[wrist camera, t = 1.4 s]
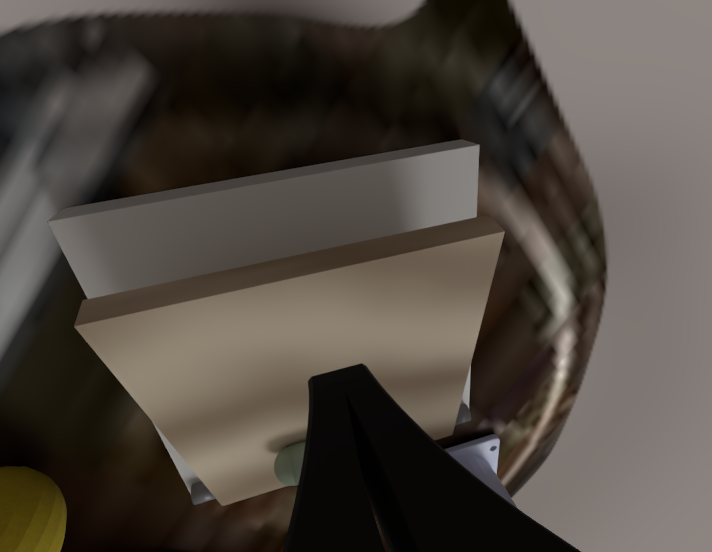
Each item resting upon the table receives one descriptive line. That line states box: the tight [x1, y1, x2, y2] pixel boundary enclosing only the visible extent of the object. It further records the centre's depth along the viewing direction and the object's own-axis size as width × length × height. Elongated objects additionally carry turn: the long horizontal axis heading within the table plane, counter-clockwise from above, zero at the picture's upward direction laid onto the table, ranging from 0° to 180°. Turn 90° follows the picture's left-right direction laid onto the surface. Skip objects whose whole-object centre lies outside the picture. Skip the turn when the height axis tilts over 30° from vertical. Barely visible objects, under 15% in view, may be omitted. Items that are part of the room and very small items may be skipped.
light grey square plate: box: [47, 139, 479, 505], centre depth 19 cm, size 16×16×2 cm
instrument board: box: [74, 215, 505, 506], centre depth 16 cm, size 14×13×3 cm
